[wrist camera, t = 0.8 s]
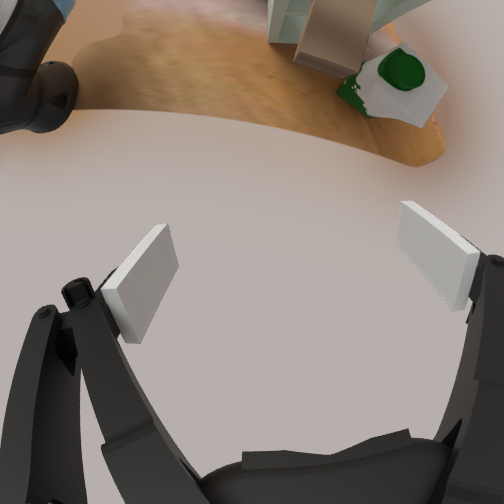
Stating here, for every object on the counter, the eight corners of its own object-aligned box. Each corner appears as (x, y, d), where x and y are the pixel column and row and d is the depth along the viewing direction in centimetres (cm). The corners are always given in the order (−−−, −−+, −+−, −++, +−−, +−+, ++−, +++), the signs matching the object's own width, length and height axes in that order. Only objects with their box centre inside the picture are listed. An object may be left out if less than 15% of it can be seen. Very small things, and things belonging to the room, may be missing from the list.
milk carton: (355, 58, 37) (411, 31, 19) (394, 91, 39) (464, 88, 21) (328, 93, 40) (374, 82, 22) (369, 126, 42) (432, 139, 25)
